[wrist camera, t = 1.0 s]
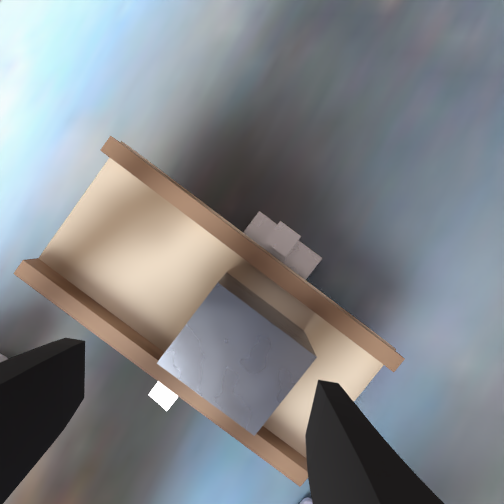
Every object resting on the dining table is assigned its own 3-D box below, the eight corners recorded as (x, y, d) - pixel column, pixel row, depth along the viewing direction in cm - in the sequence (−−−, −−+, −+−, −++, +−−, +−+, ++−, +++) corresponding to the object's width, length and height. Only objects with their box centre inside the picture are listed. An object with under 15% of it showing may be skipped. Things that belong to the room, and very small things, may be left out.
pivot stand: (321, 258, 23) (330, 258, 18) (213, 396, 24) (193, 434, 19) (260, 212, 24) (252, 199, 19) (157, 348, 25) (123, 372, 20)
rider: (304, 330, 18) (317, 357, 14) (255, 393, 19) (254, 436, 15) (226, 272, 18) (217, 282, 14) (178, 335, 19) (156, 363, 15)
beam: (385, 341, 20) (405, 357, 17) (293, 454, 20) (299, 487, 18) (131, 148, 19) (111, 134, 17) (45, 269, 20) (12, 275, 17)
